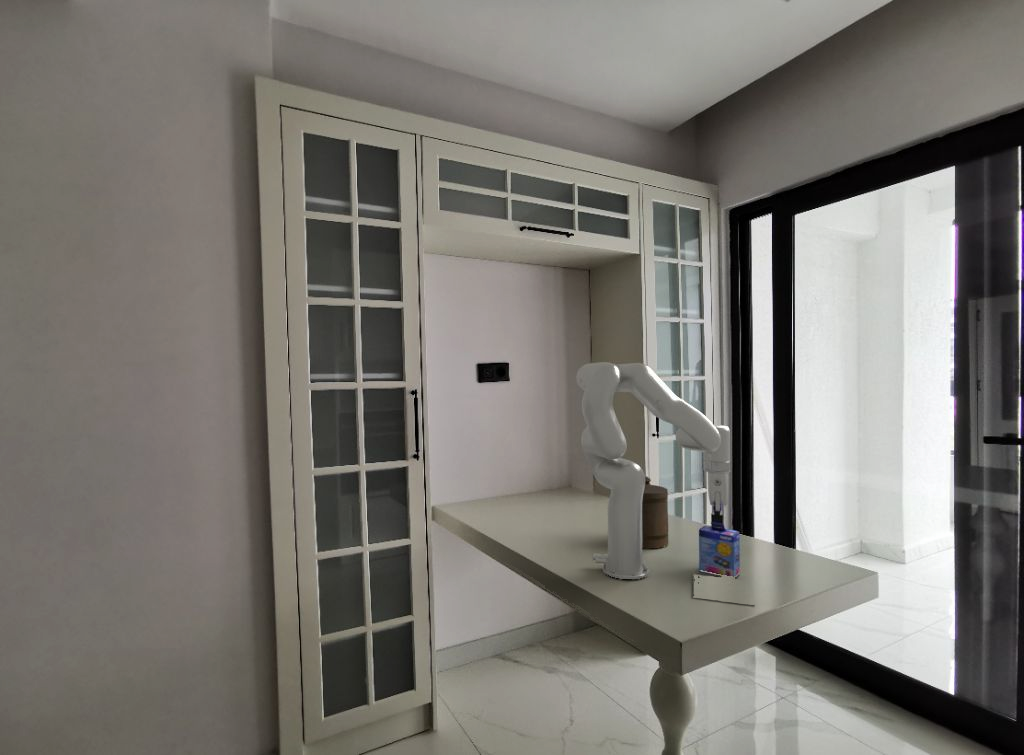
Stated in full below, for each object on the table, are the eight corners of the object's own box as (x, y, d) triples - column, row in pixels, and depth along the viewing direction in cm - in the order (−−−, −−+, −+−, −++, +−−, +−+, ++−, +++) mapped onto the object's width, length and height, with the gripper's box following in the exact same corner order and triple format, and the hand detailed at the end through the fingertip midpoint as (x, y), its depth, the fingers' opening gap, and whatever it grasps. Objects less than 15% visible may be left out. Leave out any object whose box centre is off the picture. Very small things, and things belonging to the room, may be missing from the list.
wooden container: (661, 536, 178) (661, 473, 178) (673, 549, 163) (673, 481, 163) (619, 535, 179) (618, 472, 179) (627, 549, 164) (626, 480, 164)
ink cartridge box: (697, 572, 144) (697, 520, 144) (704, 566, 148) (704, 516, 148) (734, 580, 138) (734, 526, 138) (740, 574, 142) (740, 522, 142)
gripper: (732, 471, 145) (732, 535, 144) (728, 463, 159) (728, 522, 158) (704, 469, 147) (704, 533, 147) (702, 462, 161) (703, 520, 161)
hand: (717, 527), depth 153 cm, fingers closed
